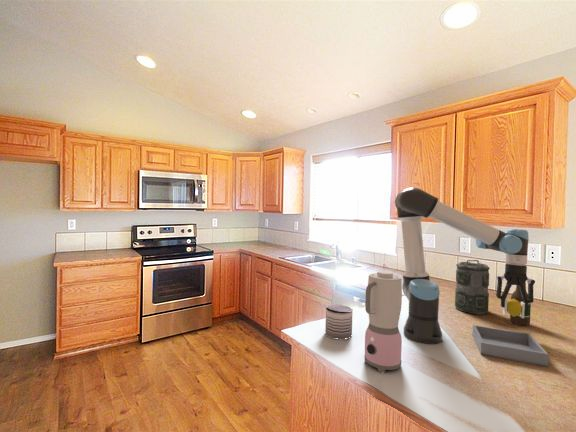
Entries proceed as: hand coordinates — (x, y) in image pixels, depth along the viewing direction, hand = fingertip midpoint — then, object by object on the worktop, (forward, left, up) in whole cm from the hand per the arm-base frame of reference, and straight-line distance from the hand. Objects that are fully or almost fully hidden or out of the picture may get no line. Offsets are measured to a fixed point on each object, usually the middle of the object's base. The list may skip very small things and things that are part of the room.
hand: (513, 315), depth 130 cm
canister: (-12, +31, -9) cm, 34 cm away
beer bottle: (+7, +19, -9) cm, 22 cm away
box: (-7, -19, -8) cm, 22 cm away
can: (-70, -36, -9) cm, 79 cm away
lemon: (0, 0, -1) cm, 1 cm away
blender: (-50, -55, -9) cm, 75 cm away
